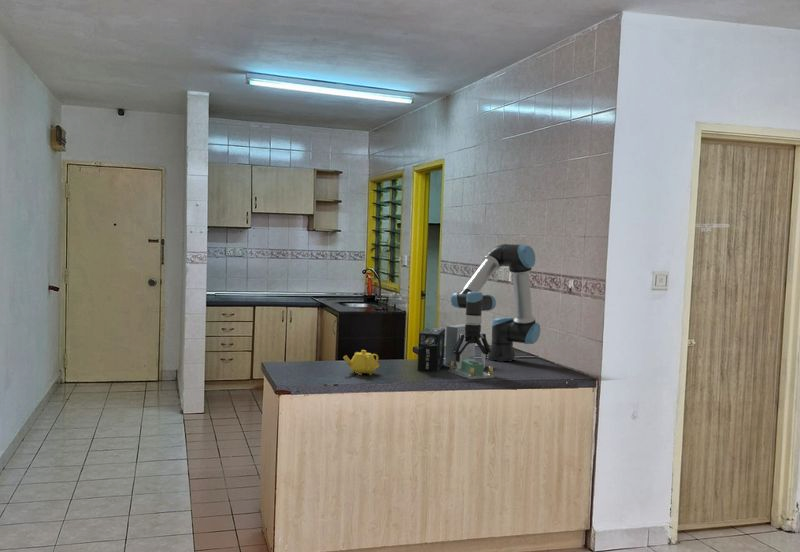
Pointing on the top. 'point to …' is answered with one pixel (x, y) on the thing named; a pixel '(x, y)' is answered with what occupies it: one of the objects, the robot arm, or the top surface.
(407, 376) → the top surface
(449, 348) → the hard drive box
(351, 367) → the teapot
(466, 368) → the green rectangular block
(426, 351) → the box
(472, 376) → the chassis
